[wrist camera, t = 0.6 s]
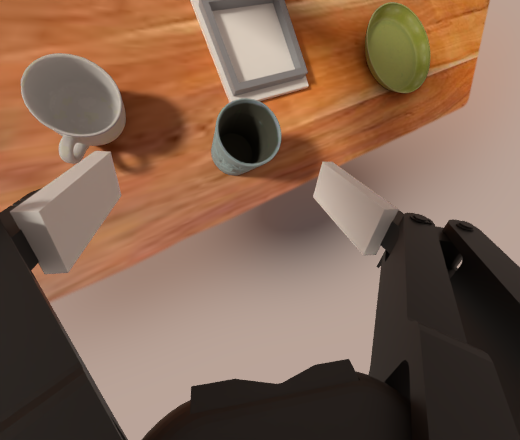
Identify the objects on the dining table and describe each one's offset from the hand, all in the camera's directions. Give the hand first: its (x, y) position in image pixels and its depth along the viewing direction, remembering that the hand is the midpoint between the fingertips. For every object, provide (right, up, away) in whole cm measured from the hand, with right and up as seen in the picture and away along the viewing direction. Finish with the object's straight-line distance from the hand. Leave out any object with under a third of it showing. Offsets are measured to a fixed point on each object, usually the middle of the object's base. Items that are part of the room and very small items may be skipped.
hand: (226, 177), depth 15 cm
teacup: (-26, +12, +22) cm, 36 cm away
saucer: (+35, +39, +43) cm, 67 cm away
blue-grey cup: (-3, +11, +30) cm, 32 cm away
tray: (+1, +32, +31) cm, 44 cm away
